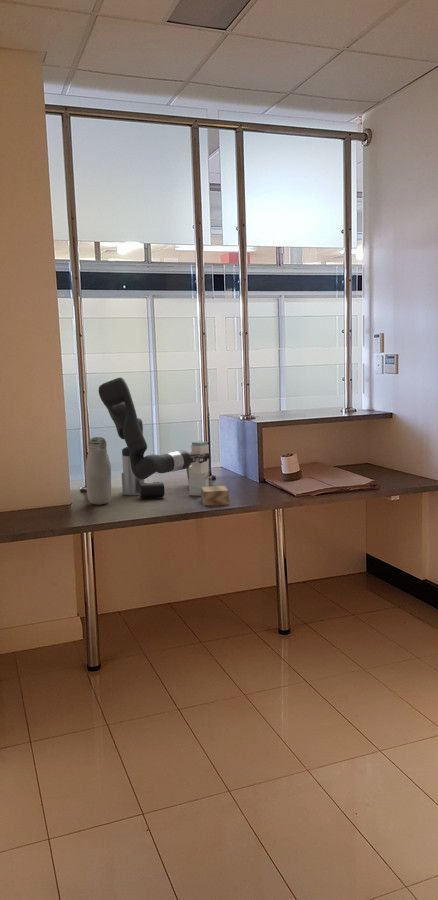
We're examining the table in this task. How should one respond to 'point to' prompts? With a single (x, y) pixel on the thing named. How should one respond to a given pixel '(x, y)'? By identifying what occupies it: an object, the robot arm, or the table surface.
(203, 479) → the supplement box
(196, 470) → the cream carton
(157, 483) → the end cap
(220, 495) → the oak box
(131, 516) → the table surface
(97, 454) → the glass bottle
